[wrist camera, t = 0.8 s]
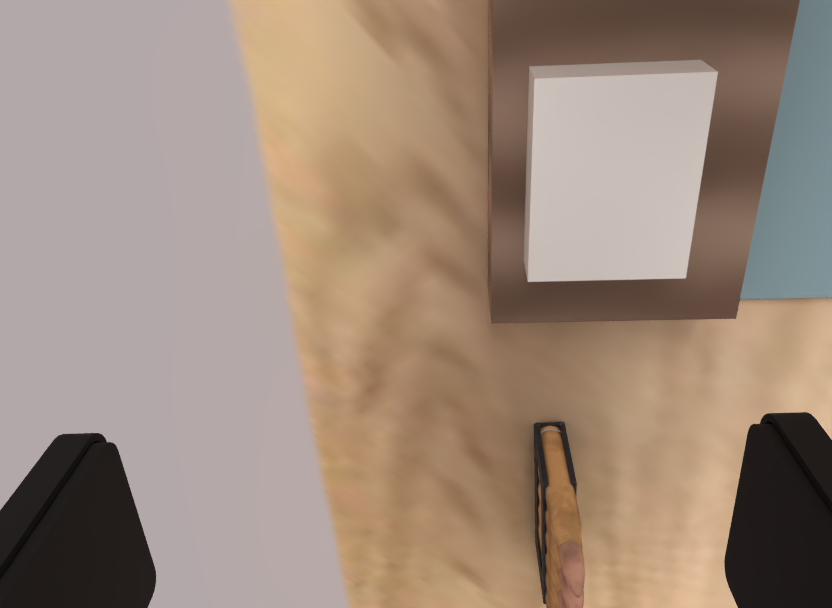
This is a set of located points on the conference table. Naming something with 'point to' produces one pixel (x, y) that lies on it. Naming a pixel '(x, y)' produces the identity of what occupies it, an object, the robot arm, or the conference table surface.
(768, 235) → the mat
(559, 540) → the ammunition clip
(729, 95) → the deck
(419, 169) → the conference table surface
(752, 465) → the robot arm
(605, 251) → the white rectangular block
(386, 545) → the conference table surface
